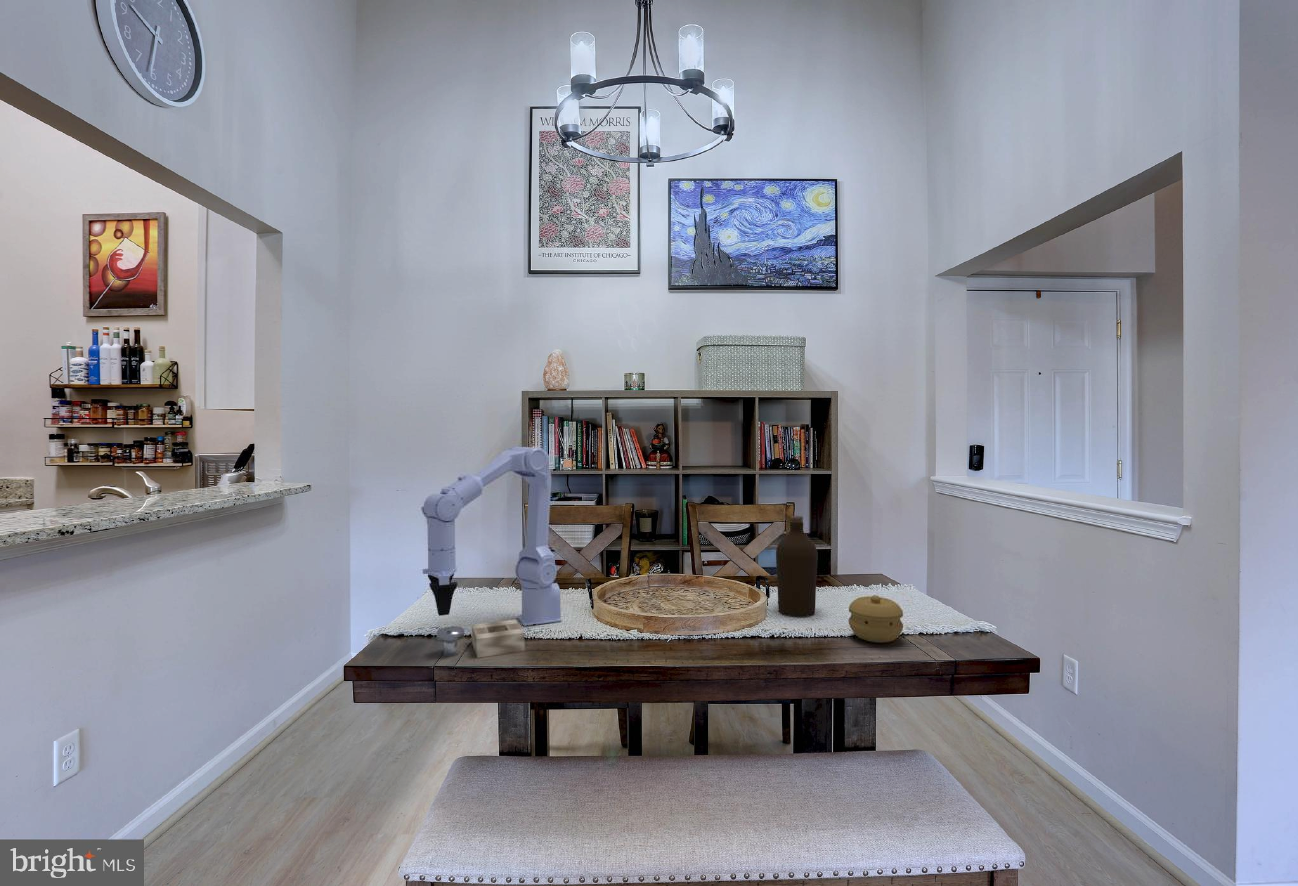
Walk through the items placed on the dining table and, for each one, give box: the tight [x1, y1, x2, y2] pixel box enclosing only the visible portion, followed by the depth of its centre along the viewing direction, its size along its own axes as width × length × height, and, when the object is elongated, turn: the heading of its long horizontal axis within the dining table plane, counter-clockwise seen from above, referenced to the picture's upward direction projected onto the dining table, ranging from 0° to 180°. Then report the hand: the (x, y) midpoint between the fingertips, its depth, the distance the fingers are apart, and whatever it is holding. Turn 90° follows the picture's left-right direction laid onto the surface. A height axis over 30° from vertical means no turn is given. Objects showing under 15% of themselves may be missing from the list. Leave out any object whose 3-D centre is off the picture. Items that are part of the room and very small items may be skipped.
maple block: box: [471, 618, 526, 658], centre depth 137 cm, size 10×10×4 cm
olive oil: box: [775, 515, 819, 618], centre depth 161 cm, size 11×11×25 cm
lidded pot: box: [847, 594, 904, 644], centre depth 140 cm, size 12×12×10 cm
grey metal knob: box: [436, 625, 465, 657], centre depth 133 cm, size 6×6×5 cm
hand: (442, 609), depth 136 cm, fingers open, 7 cm apart
